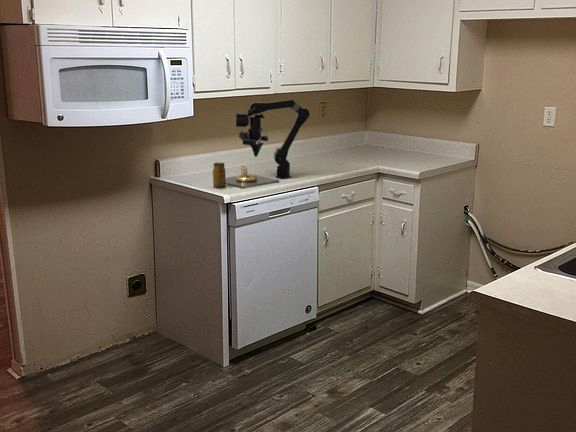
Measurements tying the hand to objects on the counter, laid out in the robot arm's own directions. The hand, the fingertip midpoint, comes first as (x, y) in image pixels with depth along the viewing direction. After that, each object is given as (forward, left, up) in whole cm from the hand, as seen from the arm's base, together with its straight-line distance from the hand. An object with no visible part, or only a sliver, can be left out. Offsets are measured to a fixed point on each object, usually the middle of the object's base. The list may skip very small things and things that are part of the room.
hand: (255, 156), depth 334 cm
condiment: (+28, +6, -12) cm, 31 cm away
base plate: (+10, +4, -12) cm, 16 cm away
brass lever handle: (+9, +2, -10) cm, 14 cm away
